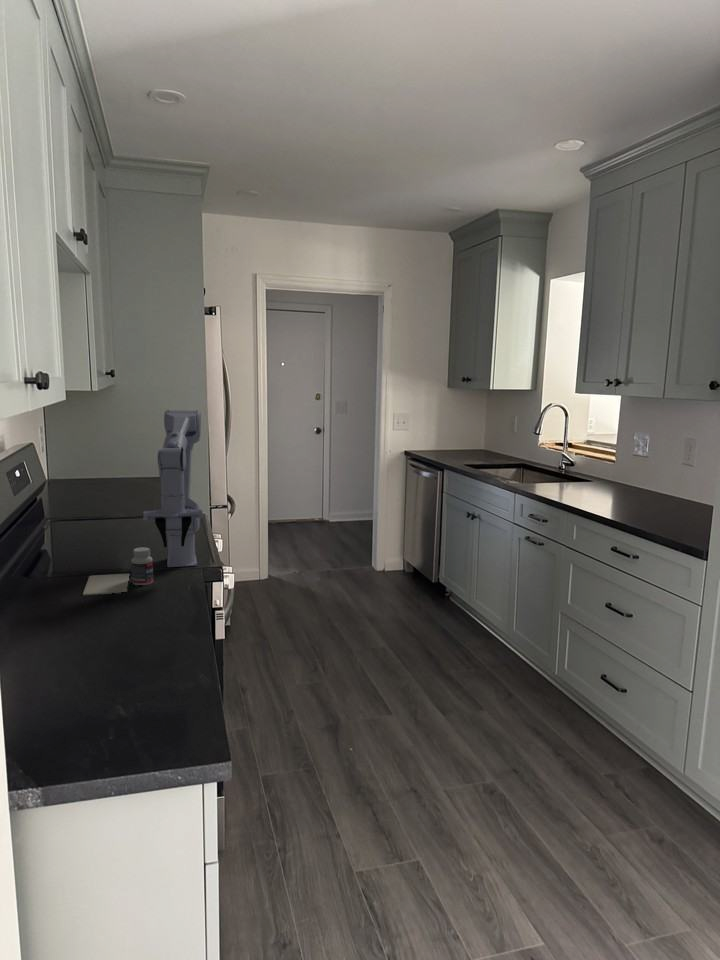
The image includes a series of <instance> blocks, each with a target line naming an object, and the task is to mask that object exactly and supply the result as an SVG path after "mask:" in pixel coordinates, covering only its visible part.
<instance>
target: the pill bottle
mask: <svg viewBox="0 0 720 960" xmlns="http://www.w3.org/2000/svg"><path fill="white" fill-rule="evenodd" d="M133 556H134V557H132V558H131V561H130V563H131V564H130V567H131V583H133V584H132V585H134V584H135V585H134V586H138V585H143V586H147V585H151V584H153V582H154V563H153V562H154V560H153V557H152V556H151V549H150V548H149V547H143V546H142V547H136V548H134V549H133Z"/></svg>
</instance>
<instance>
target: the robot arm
mask: <svg viewBox="0 0 720 960" xmlns="http://www.w3.org/2000/svg"><path fill="white" fill-rule="evenodd" d="M163 416H164V417H163V423H164V430H165V435H166V436H165V438H164V442H163V446H162V448H161V449H158V451H157V467H158V474H159V478H160V494H161V495H160V498H161V499H160V500H161V504H160V505H161V509H157V510H155V509H154V510H146V511H143V521H149V520H154V521H155V522H154V523H155V525H156V527H157V530H158V531H159V534H160V536H161V540H162V543H163V548H167V547H168V551H167V552H168V556H166V557H167V558H166V559H167V560H166V561H167V563H166V565H167V566H166V567H167V568H179V567H194V566H195V567H196V566H197V565H198V561H197V555H196V547H195V546H196V544H195V543H196V541H195V540H196V537H195V536H196V535H195V532H198V530H199V529H200V524H201V523H200V521H201V520H200V519H203V517H204V515H203V509H201V508H200V506H199V503H197V502H196V501H195V500H193V499H192V498H191V477H192V476H191V473H192V471H191V470H192V452H193V448H194V444H196V443H198V442H200V438H201V432H202V429H201V428H202V415H201V411H200V410H199V409H197V410H185V409H184V410H182V409H181V410H180V409H179V410H178V409H177V410H176V409H175V410H173V409H166V410H165V411H164V415H163Z"/></svg>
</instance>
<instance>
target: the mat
mask: <svg viewBox="0 0 720 960" xmlns="http://www.w3.org/2000/svg"><path fill="white" fill-rule="evenodd" d="M129 576H130V577H131V573H130V572H129V573H116V574H115V573H111V574H98V575H97V574H96V575H89V576H88V580H87V582H86V585H85V587H84V590H83V593H82V596H95V595H96V596H97V595H99V594H100V595H111V594H112V593H115V594H122V593H121V592H127V593H128V588H129V583H128V581H129V582H130V578H129ZM127 587H128V588H127Z"/></svg>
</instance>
